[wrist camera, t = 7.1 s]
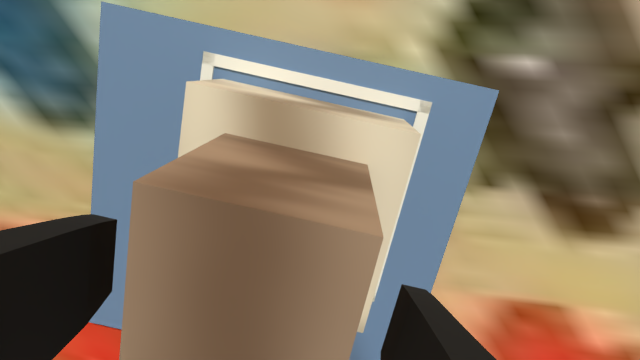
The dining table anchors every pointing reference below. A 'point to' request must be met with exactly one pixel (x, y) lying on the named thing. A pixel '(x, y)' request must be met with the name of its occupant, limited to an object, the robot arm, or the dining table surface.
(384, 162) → the birch block
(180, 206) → the walnut block
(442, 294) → the dining table surface
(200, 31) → the board
